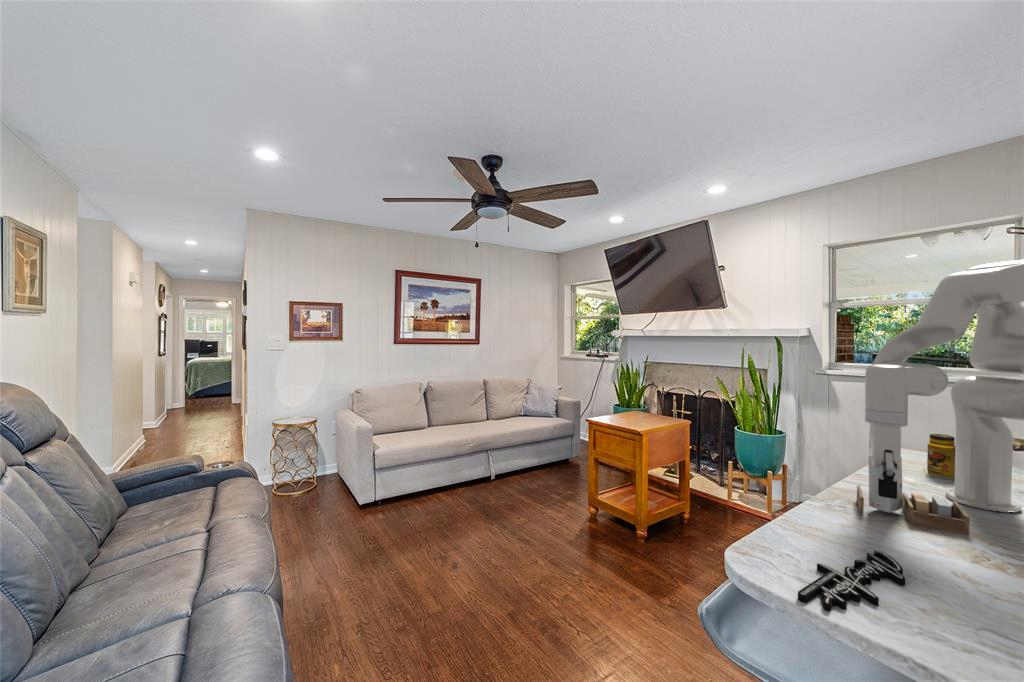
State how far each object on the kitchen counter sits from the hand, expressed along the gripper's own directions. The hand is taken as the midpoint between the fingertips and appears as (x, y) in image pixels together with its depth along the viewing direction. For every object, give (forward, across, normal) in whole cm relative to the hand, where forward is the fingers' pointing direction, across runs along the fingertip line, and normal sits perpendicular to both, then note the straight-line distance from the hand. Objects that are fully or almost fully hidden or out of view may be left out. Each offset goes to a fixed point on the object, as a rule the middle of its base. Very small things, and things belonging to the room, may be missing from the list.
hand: (885, 491), depth 100 cm
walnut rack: (+5, 0, +4) cm, 6 cm away
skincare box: (+4, 0, 0) cm, 4 cm away
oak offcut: (+5, 0, +6) cm, 8 cm away
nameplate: (+5, +40, -8) cm, 42 cm away
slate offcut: (+5, 0, +9) cm, 11 cm away
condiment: (+6, -46, +17) cm, 49 cm away
